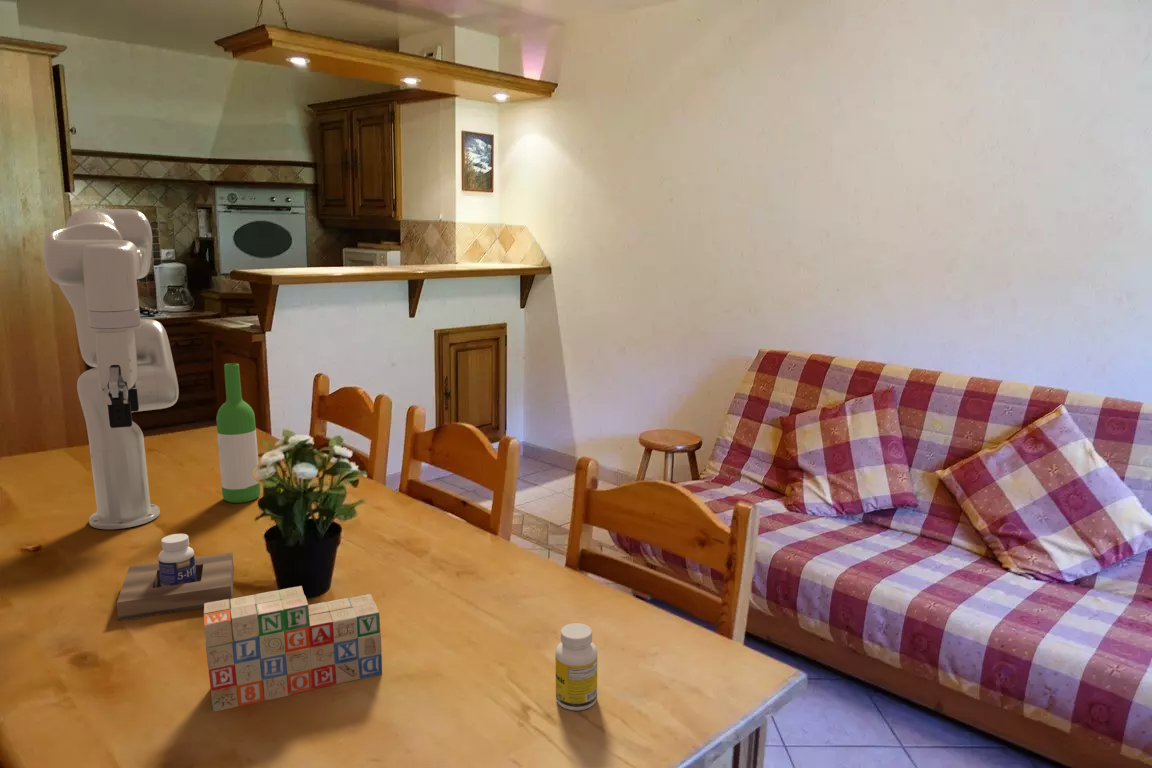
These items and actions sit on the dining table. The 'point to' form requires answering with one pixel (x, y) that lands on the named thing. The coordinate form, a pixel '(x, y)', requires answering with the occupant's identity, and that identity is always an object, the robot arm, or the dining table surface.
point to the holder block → (175, 588)
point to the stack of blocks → (287, 645)
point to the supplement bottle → (576, 668)
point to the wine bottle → (237, 442)
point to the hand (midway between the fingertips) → (125, 418)
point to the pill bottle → (176, 561)
